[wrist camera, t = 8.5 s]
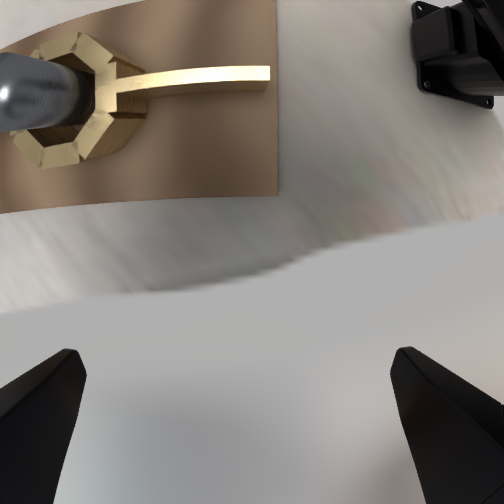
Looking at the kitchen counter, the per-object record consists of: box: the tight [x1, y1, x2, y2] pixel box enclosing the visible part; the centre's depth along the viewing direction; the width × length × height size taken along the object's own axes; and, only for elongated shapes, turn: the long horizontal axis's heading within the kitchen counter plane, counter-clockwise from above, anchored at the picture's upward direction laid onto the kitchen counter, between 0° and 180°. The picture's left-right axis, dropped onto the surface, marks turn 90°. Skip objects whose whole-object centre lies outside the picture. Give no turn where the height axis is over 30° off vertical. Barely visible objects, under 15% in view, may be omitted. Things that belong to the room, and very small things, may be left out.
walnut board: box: [0, 0, 278, 214], centre depth 15 cm, size 20×12×1 cm, turn 91°
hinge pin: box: [0, 52, 96, 133], centre depth 11 cm, size 3×3×9 cm
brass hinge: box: [10, 32, 270, 169], centre depth 13 cm, size 19×6×4 cm, turn 91°
